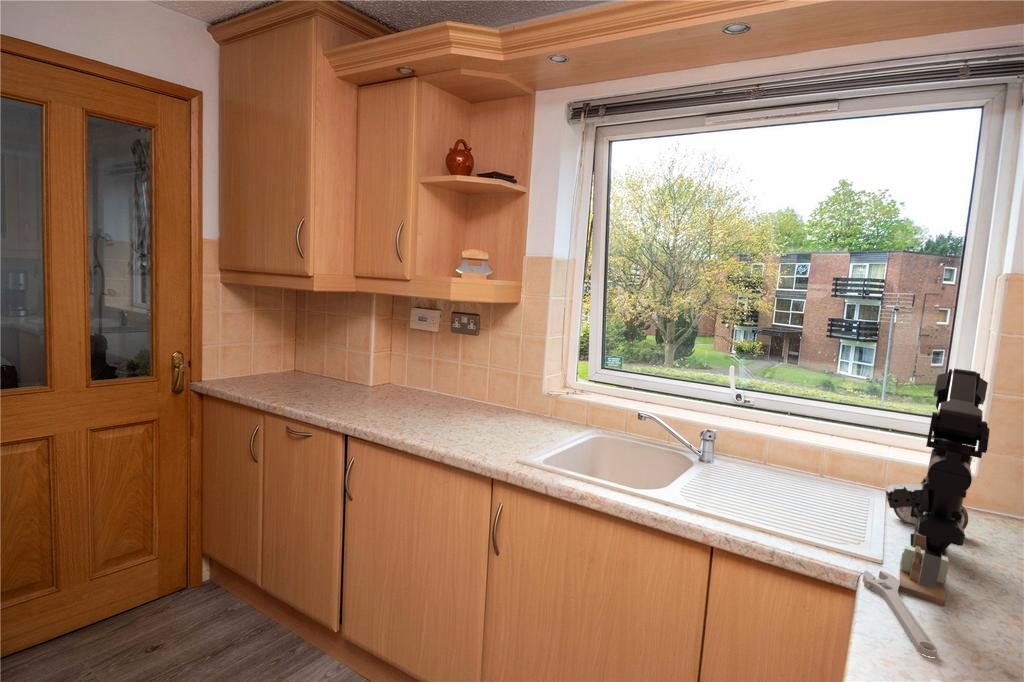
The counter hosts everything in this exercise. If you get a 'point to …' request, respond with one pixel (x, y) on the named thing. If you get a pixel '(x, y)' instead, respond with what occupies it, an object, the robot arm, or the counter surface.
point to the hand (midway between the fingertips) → (930, 560)
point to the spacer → (909, 553)
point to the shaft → (929, 568)
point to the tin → (905, 516)
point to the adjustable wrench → (900, 610)
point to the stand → (911, 580)
